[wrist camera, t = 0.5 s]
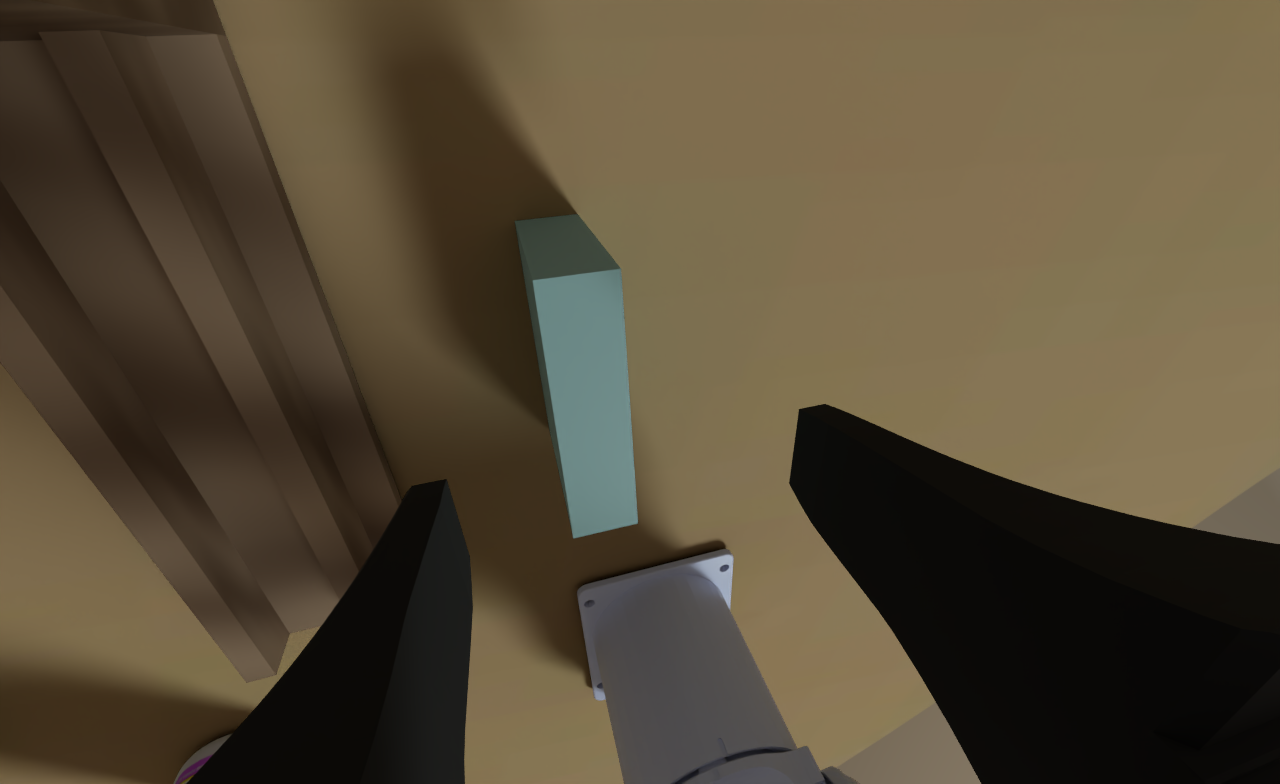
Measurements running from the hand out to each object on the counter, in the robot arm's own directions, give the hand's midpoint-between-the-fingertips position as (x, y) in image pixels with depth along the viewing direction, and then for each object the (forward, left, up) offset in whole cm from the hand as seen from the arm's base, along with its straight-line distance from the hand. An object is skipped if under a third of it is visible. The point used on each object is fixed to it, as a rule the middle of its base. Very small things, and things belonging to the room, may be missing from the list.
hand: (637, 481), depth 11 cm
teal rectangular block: (-1, 0, -9) cm, 10 cm away
